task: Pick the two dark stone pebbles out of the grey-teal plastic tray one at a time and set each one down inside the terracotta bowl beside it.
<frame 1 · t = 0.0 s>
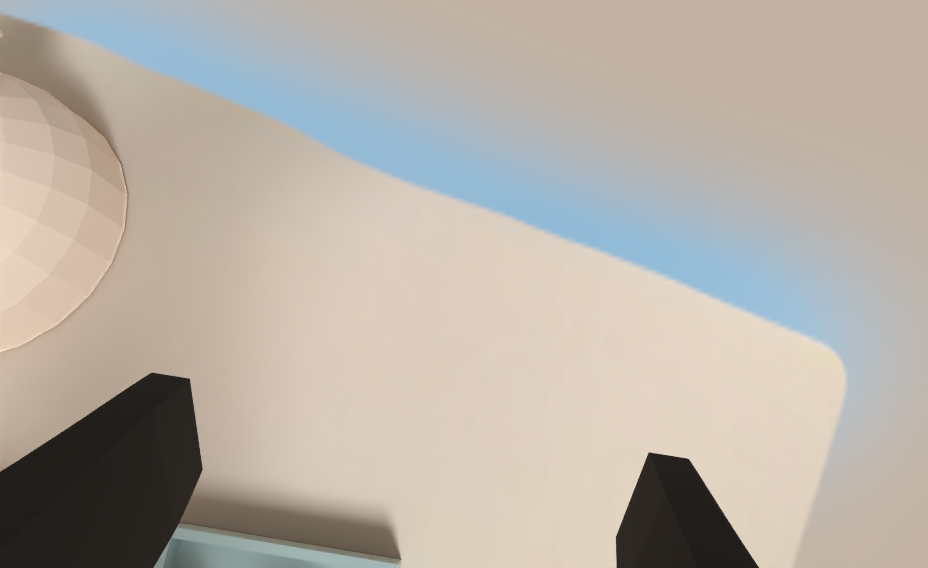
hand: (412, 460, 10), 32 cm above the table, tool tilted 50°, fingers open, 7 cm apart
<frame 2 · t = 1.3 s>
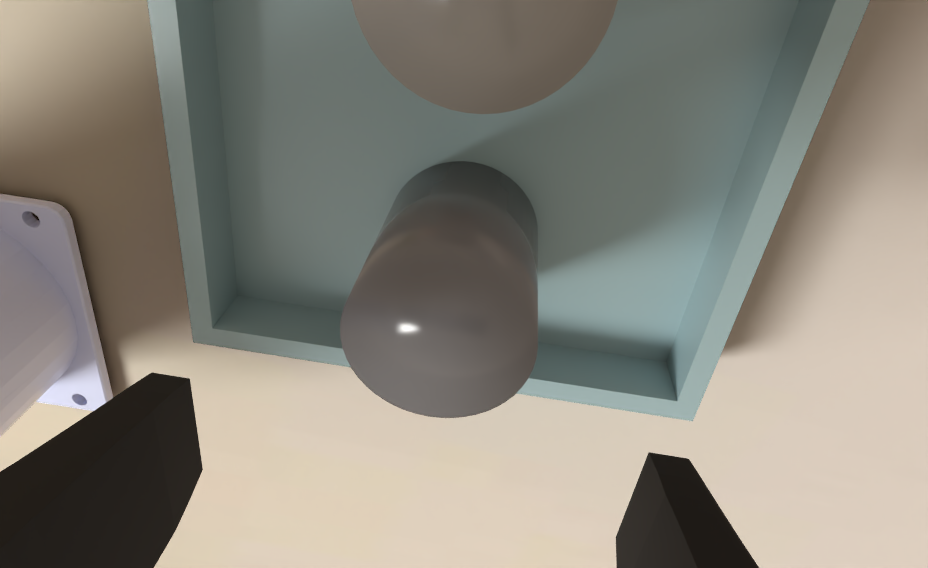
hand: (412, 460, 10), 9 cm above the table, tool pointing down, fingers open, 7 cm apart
charcoal pebble: (462, 232, 17), point 1 cm above the table, touching parts tray
parts tray: (480, 105, 16), on the table
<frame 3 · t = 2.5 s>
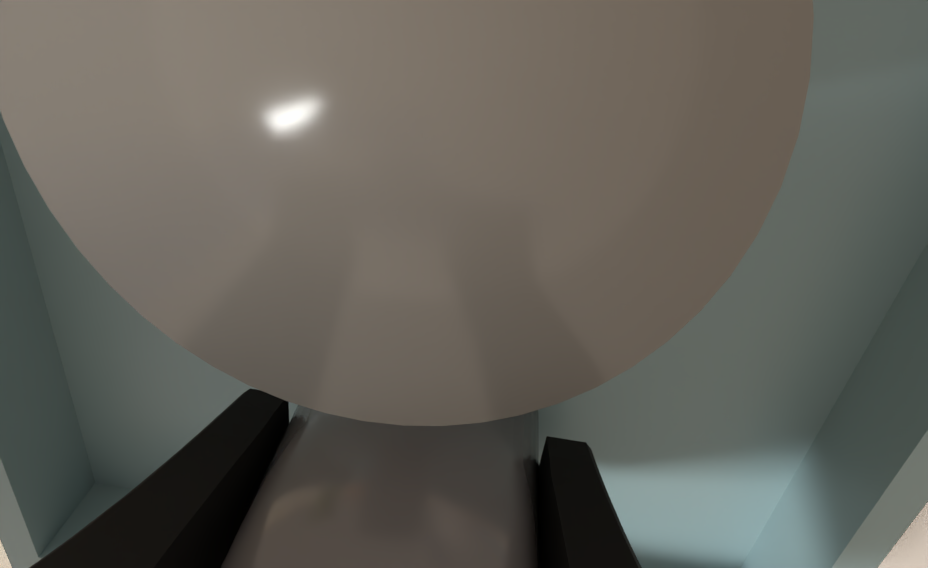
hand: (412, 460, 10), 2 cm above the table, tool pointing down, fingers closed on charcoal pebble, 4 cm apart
charcoal pebble: (422, 416, 11), point 1 cm above the table, touching gripper, parts tray
parts tray: (447, 231, 10), on the table
when the fingers open (3 cm above the table, at t = 6.6 s): charcoal pebble drops 1 cm, resting on terracotta bowl.
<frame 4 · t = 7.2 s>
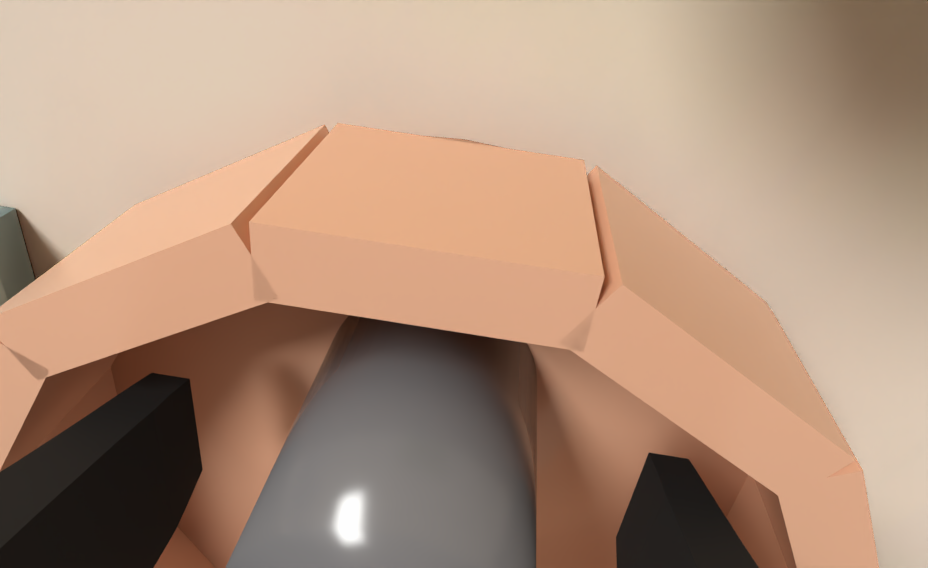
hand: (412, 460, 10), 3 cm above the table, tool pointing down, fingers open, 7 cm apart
charcoal pebble: (432, 377, 12), point 1 cm above the table, touching terracotta bowl
terracotta bowl: (426, 443, 14), on the table
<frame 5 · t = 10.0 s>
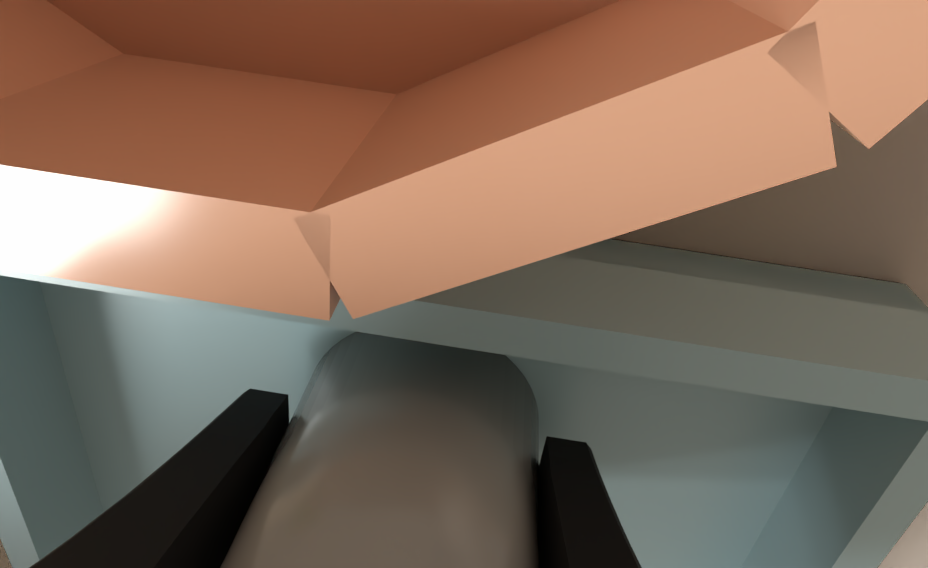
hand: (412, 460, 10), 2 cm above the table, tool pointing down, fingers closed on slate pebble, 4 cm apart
parts tray: (414, 511, 13), on the table
slate pebble: (422, 416, 11), point 1 cm above the table, touching gripper, parts tray
when the fingers open (3 cm above the table, at t = 13.4 s): slate pebble drops 1 cm, resting on terracotta bowl.
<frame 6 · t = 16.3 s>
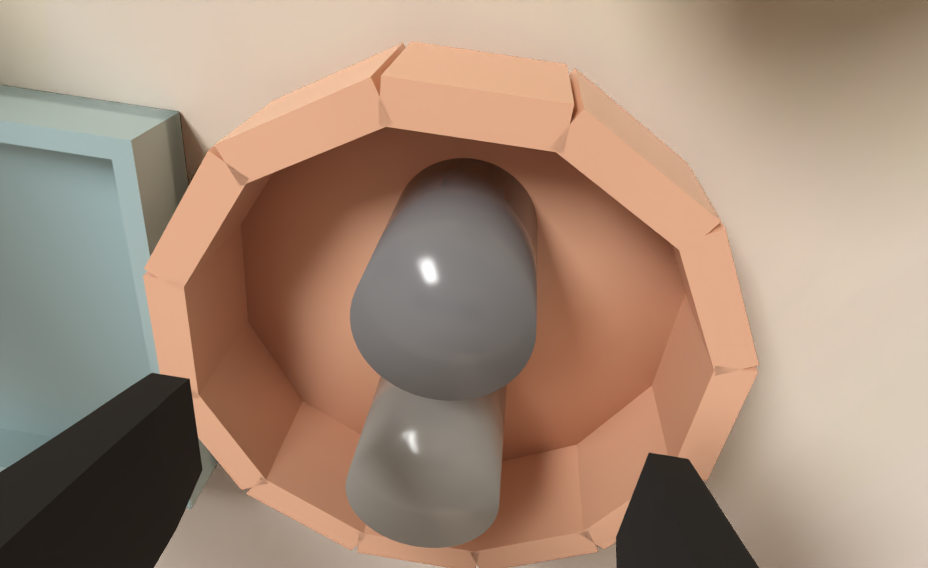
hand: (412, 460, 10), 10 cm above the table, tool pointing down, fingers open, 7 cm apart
charcoal pebble: (465, 226, 18), point 1 cm above the table, touching terracotta bowl
parts tray: (4, 282, 22), on the table
slate pebble: (445, 374, 21), point 1 cm above the table, touching terracotta bowl
terracotta bowl: (458, 291, 20), on the table
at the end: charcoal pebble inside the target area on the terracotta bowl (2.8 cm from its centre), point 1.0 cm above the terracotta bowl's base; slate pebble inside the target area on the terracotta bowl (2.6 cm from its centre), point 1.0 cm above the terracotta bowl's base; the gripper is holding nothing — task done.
